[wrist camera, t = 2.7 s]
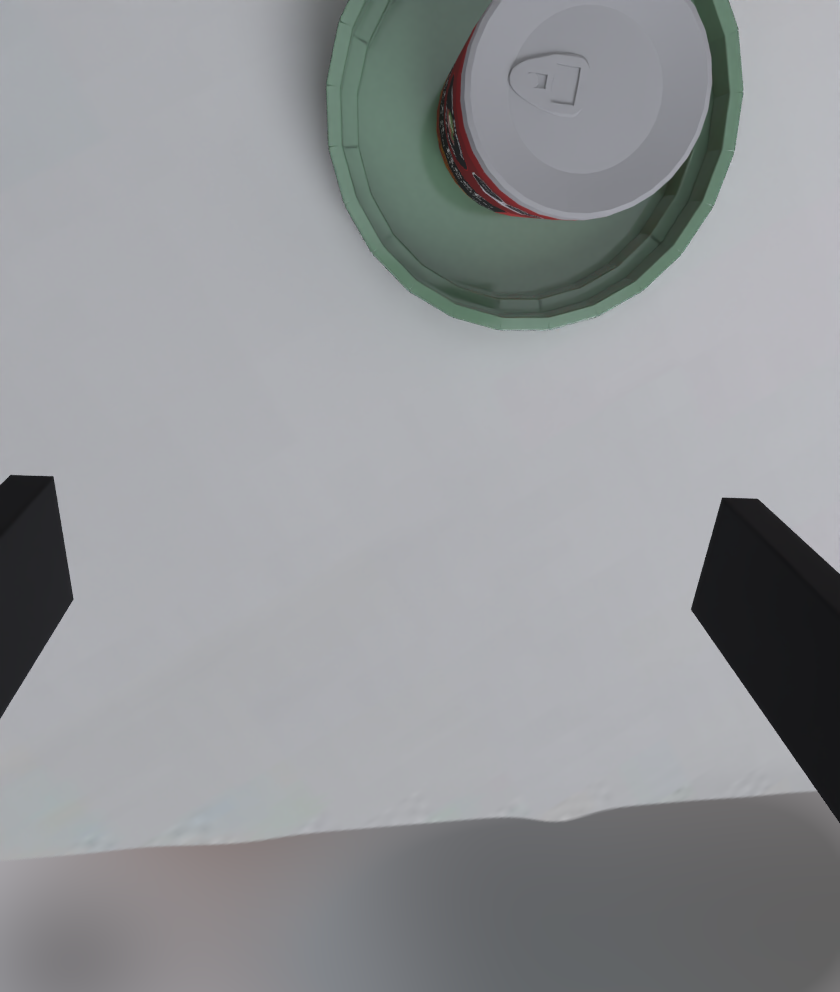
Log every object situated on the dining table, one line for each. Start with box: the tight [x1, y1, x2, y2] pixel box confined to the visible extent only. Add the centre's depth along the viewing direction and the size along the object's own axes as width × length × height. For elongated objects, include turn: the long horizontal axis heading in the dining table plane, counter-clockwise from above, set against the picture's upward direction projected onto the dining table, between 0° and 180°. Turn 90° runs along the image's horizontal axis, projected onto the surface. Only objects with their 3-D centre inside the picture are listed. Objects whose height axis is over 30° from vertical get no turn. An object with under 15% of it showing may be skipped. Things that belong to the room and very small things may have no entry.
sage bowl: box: [326, 0, 743, 330], centre depth 32 cm, size 17×17×3 cm
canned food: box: [436, 0, 712, 221], centre depth 28 cm, size 8×8×11 cm
